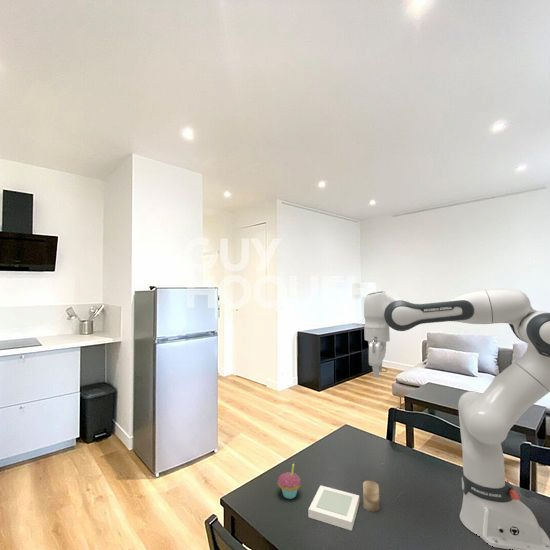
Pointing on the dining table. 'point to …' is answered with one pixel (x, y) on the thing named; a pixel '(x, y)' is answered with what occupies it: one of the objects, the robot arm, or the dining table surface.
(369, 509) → the bread loaf
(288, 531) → the dining table surface
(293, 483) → the cupcake
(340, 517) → the base slab
